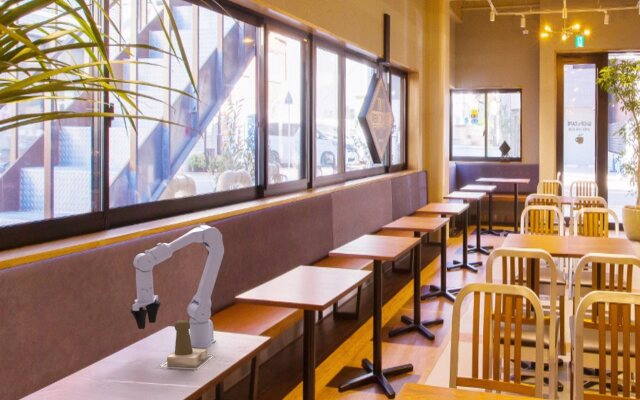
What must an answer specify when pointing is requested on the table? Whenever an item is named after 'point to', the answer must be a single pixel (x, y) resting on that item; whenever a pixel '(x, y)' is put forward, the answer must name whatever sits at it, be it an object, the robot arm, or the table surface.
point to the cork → (183, 338)
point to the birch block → (187, 358)
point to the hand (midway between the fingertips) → (147, 325)
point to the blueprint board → (164, 366)
